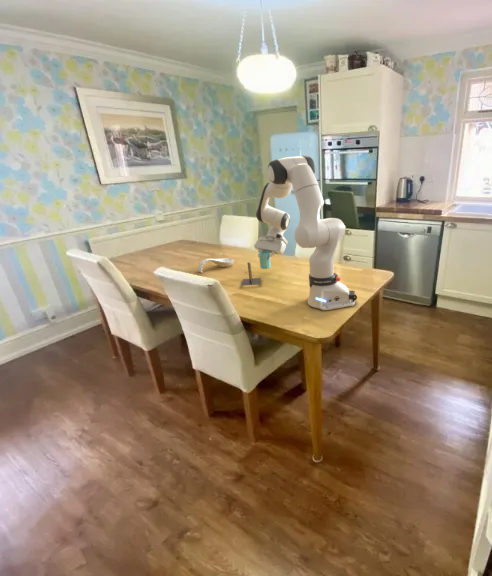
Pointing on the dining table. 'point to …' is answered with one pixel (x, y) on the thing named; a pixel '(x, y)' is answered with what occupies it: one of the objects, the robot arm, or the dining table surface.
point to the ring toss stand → (250, 278)
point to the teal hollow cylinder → (264, 260)
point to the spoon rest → (220, 262)
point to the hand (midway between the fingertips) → (264, 257)
